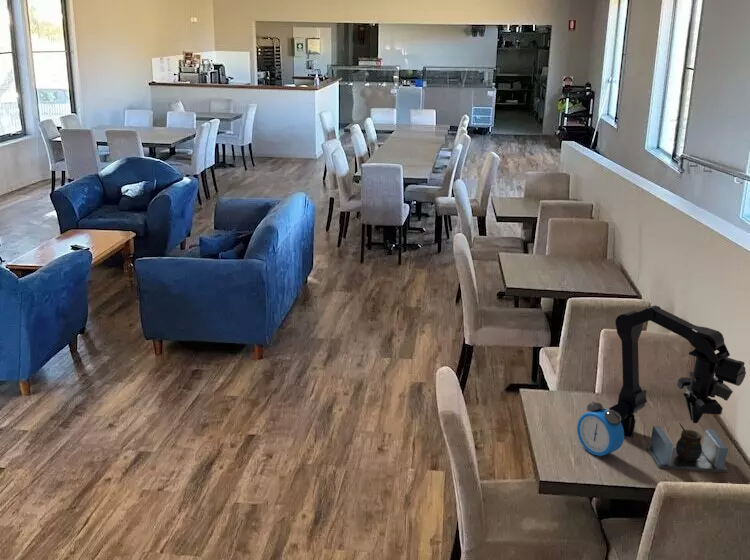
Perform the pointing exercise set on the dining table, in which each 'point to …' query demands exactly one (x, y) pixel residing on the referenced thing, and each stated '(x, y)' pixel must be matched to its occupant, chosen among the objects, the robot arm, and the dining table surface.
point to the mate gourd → (689, 445)
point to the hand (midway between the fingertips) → (693, 421)
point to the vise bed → (708, 460)
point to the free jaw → (661, 445)
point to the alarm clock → (600, 430)
